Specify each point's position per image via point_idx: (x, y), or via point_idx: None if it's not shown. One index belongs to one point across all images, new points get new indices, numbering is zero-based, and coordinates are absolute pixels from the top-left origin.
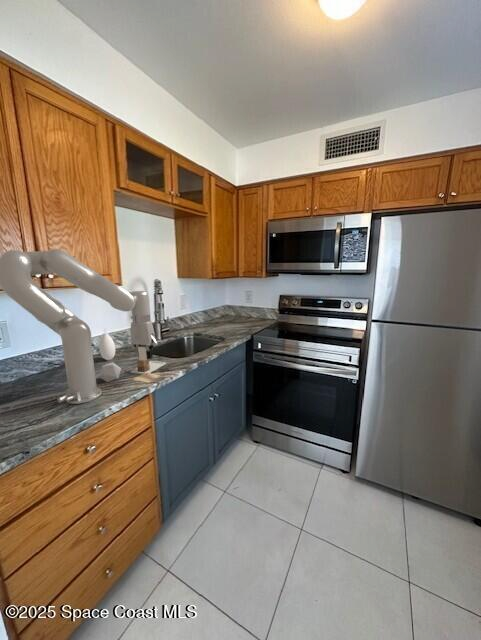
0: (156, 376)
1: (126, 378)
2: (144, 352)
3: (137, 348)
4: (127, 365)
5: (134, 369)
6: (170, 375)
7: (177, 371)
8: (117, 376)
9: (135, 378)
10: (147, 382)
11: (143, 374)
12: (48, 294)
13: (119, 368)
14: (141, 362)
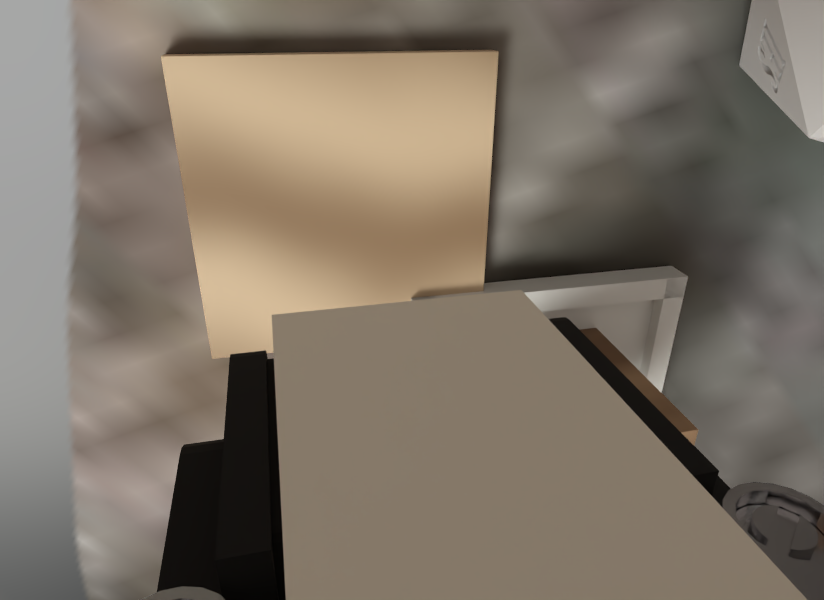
0: (225, 291)
1: (632, 116)
2: (352, 468)
3: (785, 547)
4: (810, 419)
5: (664, 344)
6: (91, 410)
7: (108, 529)
8: (757, 7)
9: (485, 125)
10: (187, 57)
11: (461, 278)
12: None
13: None
14: None
